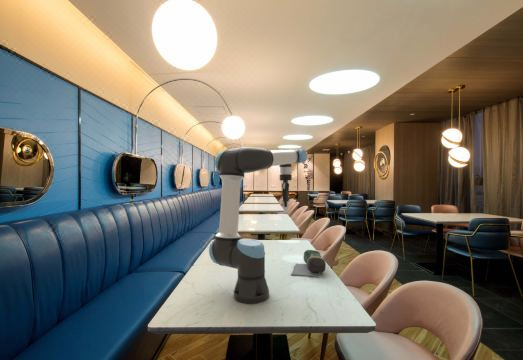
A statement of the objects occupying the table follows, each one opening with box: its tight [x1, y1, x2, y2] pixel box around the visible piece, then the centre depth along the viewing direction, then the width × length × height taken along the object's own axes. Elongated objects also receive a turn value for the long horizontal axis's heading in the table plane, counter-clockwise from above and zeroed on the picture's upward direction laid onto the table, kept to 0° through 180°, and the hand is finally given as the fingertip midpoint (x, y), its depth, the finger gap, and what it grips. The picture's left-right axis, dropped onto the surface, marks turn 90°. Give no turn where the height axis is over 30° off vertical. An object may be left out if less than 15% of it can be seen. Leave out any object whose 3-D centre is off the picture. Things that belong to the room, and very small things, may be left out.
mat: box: [290, 263, 320, 278], centre depth 145 cm, size 18×14×1 cm
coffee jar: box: [303, 249, 326, 274], centre depth 146 cm, size 10×8×19 cm
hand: (285, 211), depth 166 cm, fingers closed
